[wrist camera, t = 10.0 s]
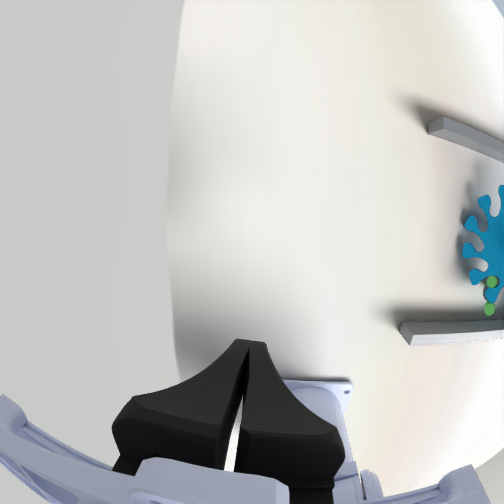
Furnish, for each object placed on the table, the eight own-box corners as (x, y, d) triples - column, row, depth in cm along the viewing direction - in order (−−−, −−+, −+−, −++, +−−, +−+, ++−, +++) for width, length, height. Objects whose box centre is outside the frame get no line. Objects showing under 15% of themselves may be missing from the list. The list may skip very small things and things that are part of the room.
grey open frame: (507, 326, 20) (532, 345, 15) (398, 331, 21) (422, 362, 16) (534, 169, 16) (565, 170, 11) (427, 122, 17) (461, 109, 12)
